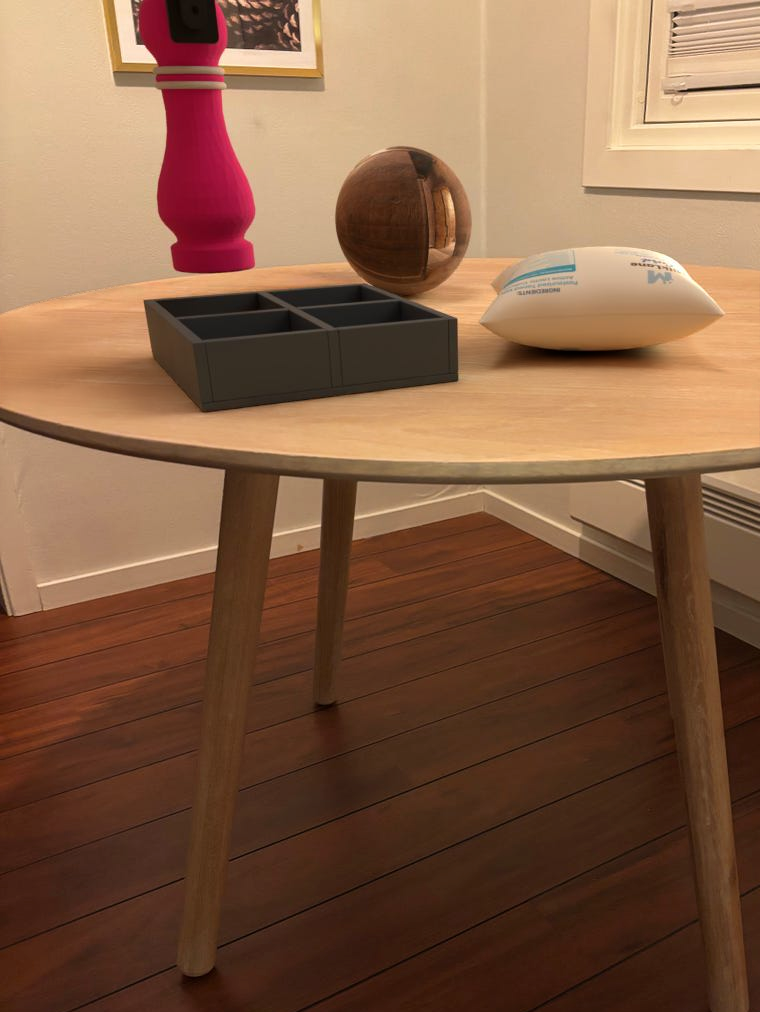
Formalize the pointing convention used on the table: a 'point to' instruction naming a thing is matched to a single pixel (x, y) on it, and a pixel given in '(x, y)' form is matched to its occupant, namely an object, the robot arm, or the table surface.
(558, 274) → the pouch
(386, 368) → the compartment tray
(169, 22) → the robot arm
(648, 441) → the table surface
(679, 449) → the table surface
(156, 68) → the pepper mill
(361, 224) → the shiny brown ball
